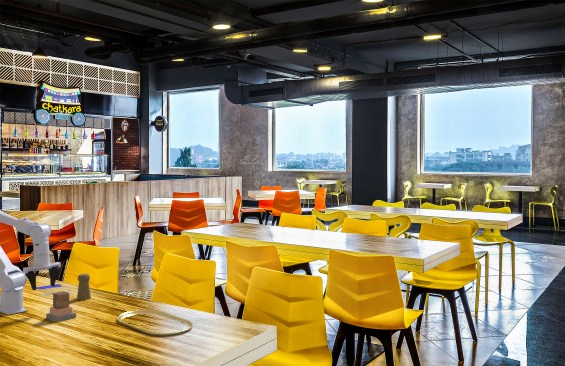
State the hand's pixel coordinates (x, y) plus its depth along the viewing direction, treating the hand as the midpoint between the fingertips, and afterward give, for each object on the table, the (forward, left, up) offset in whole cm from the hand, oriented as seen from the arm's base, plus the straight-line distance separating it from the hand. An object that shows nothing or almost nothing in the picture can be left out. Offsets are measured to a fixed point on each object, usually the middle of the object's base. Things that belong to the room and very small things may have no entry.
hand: (43, 287), depth 216 cm
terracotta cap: (+11, +1, -9) cm, 14 cm away
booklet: (-32, +21, -11) cm, 41 cm away
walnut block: (+11, +2, -6) cm, 13 cm away
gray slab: (+11, +2, -11) cm, 16 cm away
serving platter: (+44, +21, -11) cm, 50 cm away
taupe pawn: (-10, +23, -11) cm, 28 cm away
